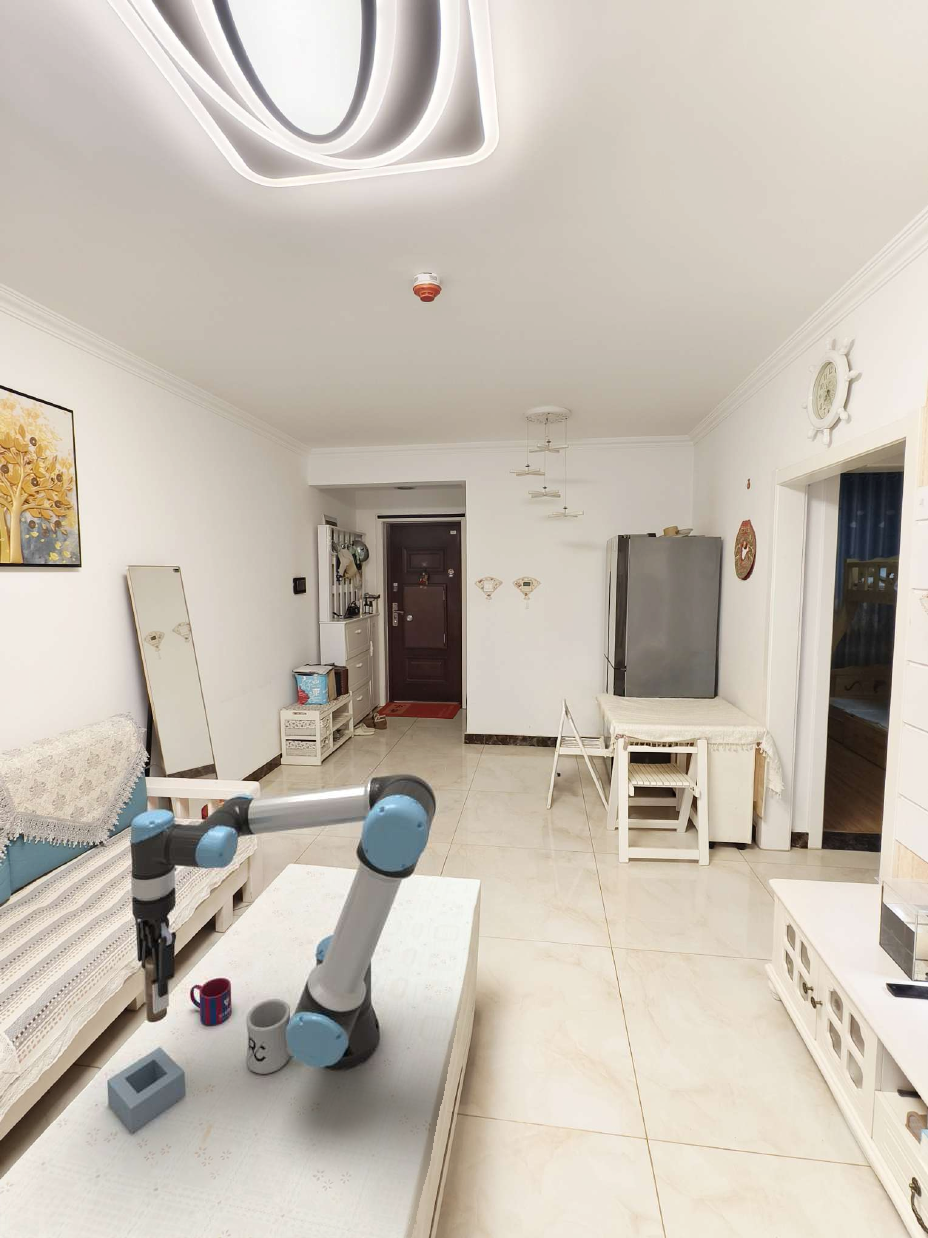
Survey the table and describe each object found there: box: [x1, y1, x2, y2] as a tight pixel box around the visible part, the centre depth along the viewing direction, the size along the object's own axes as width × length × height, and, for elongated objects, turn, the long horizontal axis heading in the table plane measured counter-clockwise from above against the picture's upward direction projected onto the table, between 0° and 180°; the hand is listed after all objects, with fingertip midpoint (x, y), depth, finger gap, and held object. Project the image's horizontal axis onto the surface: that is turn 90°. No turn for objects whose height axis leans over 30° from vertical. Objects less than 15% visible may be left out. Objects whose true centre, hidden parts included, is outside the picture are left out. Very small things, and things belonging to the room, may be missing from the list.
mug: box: [245, 998, 295, 1075], centre depth 123 cm, size 12×9×10 cm
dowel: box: [145, 955, 168, 1023], centre depth 116 cm, size 4×4×12 cm
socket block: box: [106, 1046, 186, 1135], centre depth 113 cm, size 10×10×5 cm
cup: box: [189, 977, 232, 1027], centre depth 136 cm, size 7×10×7 cm
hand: (156, 1003), depth 116 cm, fingers closed on dowel, 3 cm apart
